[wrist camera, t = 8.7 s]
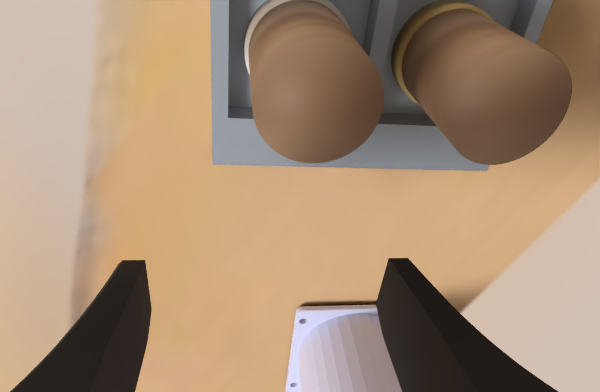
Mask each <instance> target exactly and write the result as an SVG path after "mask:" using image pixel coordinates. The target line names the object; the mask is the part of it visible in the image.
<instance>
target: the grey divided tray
mask: <svg viewBox="0 0 600 392" xmlns="http://www.w3.org/2000/svg"><path fill="white" fill-rule="evenodd" d="M265 1H266V0H210V13H211V82H212V151H213V165H252V166H295V167H337V168H380V169H422V170H464V171H487V170H488V167H489V165H486V164H479V163H475V162H472V161H470V160H468V159H466V158H464V157H463V156H462V155H461V154H459V152H458V151H457V150H456V149H455V148H454V147H453V145H452V144H451V143H450V142H449V140H448V139H447V138H446V137H445V135H444V134H443V133H442V132H441V131H440V129H439V128H438V127H437V126H436V124H435V123H434V122H433V121H432V120H431V118H430V117H429V116H428V115H427V113H426V112H425V111H424V110H423V109H422V107H421V106H420V105H418V104H417V103H415V102H413V101H412V100H411V99H410V98H409V97H408V96H407V95H406V94H405V92H404V91H403V90H402V89H401V87H400V86H399V85H398V83H397V82H396V80H395V77H394V75H393V71H392V66H391V55H392V49H393V45H394V42H395V39H396V37H397V35H398V33H399V31H400V29H401V28H402V27H403V25H404V24H405V22H406V21H407V20H408V19H409V18H410V17H411V16H412V15H413V14H414V13H415V12H417V11H418V10H420V9H421V8H423V7H424V6H426V5H428V4H430V3H433V2H436V1H439V0H329V1H330V2H332V3H333V4H334V5H335V6H336V8H337V9H338V10H339V11H340V13H341V14H342V15H343V16H344V18H345V19H346V21H347V23H348V25H349V27H350V29H351V33H352V35H353V36H354V38H355V39H356V40H357V42H358V43H359V44H360V46H361V47H362V48H363V50H364V51H365V52H366V54H367V55H368V56H369V58H370V59H371V60H372V62H373V63H374V65H375V66H376V68H377V69H378V71H379V74H380V76H381V79H382V83H383V88H384V105H383V111H382V114H381V117H380V120H379V122H378V124H377V126H376V128H375V130H374V131H373V133H372V134H371V135H370V137H369V138H368V139H367V140H366V141H365V142H364V143H363V144H362V145H361V146H360V147H358V148H357V149H356V150H354V151H353V152H351V153H350V154H348V155H346V156H344V157H342V158H339V159H337V160H334V161H330V162H325V163H313V164H311V163H302V162H297V161H294V160H291V159H288V158H286V157H284V156H282V155H280V154H279V153H277V152H275V151H274V150H273V149H272V148H271V147H270V146H269V145H268V144H267V143H266V142H265V141H264V140H263V138H262V137H261V135H260V134H259V132H258V129H257V127H256V124H255V121H254V117H253V111H252V98H251V84H250V75H249V73H248V70H247V67H246V62H245V53H244V39H245V33H246V28H247V26H248V23H249V21H250V19H251V17H252V15H253V14H254V12H255V11H256V10H257V9H258V8H259V6H260V5H261V4H262V3H264V2H265ZM462 1H465V2H468V3H470V4H472V5H474V6H476V7H477V8H479V9H481V10H483V11H485V12H486V13H487V14H488V15H489V16H490V17H491V18H492V19H493V20H494V22H496V23H498V24H500V25H501V26H503V27H505V28H507V29H509V30H511V31H512V32H514V33H516V34H518V35H520V36H522V37H523V38H525V39H527V40H529V41H531V42H533V43H534V44H537V41H538V39H539V36H540V33H541V31H542V28H543V26H544V23H545V20H546V18H547V15H548V13H549V10H550V8H551V5H552V2H553V0H462Z"/></svg>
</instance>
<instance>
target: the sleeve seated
mask: <svg viewBox="0 0 600 392" xmlns="http://www.w3.org/2000/svg"><path fill="white" fill-rule="evenodd" d="M244 53H245V62H246V67H247V70H248V73H249V75H250V84H251V98H252V111H253V117H254V121H255V124H256V127H257V129H258V132H259V134H260V135H261V137H262V138H263V140H264V141H265V142H266V143H267V144H268V145H269V146H270V147H271V148H272V149H273V150H274V151H275V152H277V153H279V154H280V155H282V156H284V157H286V158H288V159H291V160H294V161H297V162H302V163H311V164H313V163H325V162H330V161H334V160H337V159H339V158H342V157H344V156H346V155H348V154H350V153H351V152H353V151H354V150H356V149H357V148H358V147H360V146H361V145H362V144H363V143H364V142H365V141H366V140H367V139H368V138H369V137H370V135H371V134H372V133H373V131H374V130H375V128H376V126H377V124H378V122H379V120H380V117H381V114H382V111H383V105H384V88H383V83H382V79H381V76H380V74H379V71H378V69H377V68H376V66H375V65H374V63H373V62H372V60H371V59H370V58H369V56H368V55H367V54H366V52H365V51H364V50H363V48H362V47H361V46H360V44H359V43H358V42H357V40H356V39H355V38H354V36H353V35H352V33H351V29H350V27H349V25H348V23H347V21H346V19H345V18H344V16H343V15H342V14H341V13H340V11H339V10H338V9H337V8H336V6H335V5H334V4H333V3H332V2H330V1H329V0H266V1H265V2H264V3H262V4H261V5H260V6H259V8H258V9H257V10H256V11H255V12H254V14H253V15H252V17H251V19H250V21H249V23H248V26H247V28H246V33H245V39H244Z"/></svg>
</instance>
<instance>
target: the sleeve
mask: <svg viewBox="0 0 600 392" xmlns="http://www.w3.org/2000/svg"><path fill="white" fill-rule="evenodd" d="M391 66H392V71H393V75H394V77H395V80H396V82H397V83H398V85H399V86H400V87H401V89H402V90H403V91H404V92H405V94H406V95H407V96H408V97H409V98H410V99H411V100H412V101H413V102H415V103H417V104H418V105H420V106H421V107H422V109H423V110H424V111H425V112H426V113H427V115H428V116H429V117H430V118H431V120H432V121H433V122H434V123H435V124H436V126H437V127H438V128H439V129H440V131H441V132H442V133H443V134H444V135H445V137H446V138H447V139H448V140H449V142H450V143H451V144H452V145H453V147H454V148H455V149H456V150H457V151H458V152H459V154H461V155H462V156H463V157H464V158H466V159H468V160H470V161H472V162H475V163H479V164H486V165H496V164H503V163H507V162H511V161H513V160H516V159H519V158H521V157H523V156H525V155H527V154H528V153H530V152H532V151H533V150H535V149H536V148H538V147H539V146H540V145H541V144H543V143H544V142H545V141H546V140H547V139H548V138H549V137H550V136H551V135H552V134H553V132H554V131H555V130H556V129H557V127H558V126H559V124H560V123H561V121H562V120H563V118H564V116H565V114H566V112H567V109H568V107H569V103H570V99H571V93H572V82H571V76H570V74H569V71H568V69H567V67H566V65H565V64H564V63H563V61H562V60H561V59H560V58H558V57H557V56H556V55H554V54H553V53H551V52H549V51H547V50H545V49H543V48H542V47H540V46H538V45H536V44H534V43H533V42H531V41H529V40H527V39H525V38H523V37H522V36H520V35H518V34H516V33H514V32H512V31H511V30H509V29H507V28H505V27H503V26H501V25H500V24H498V23H496V22H494V20H493V19H492V18H491V17H490V16H489V15H488V14H487V13H486V12H485V11H483V10H481V9H479V8H477V7H476V6H474V5H472V4H470V3H468V2H465V1H462V0H439V1H436V2H433V3H430V4H428V5H426V6H424V7H423V8H421V9H420V10H418V11H417V12H415V13H414V14H413V15H412V16H411V17H410V18H409V19H408V20H407V21H406V22H405V24H404V25H403V27H402V28H401V29H400V31H399V33H398V35H397V37H396V39H395V42H394V45H393V49H392V55H391Z"/></svg>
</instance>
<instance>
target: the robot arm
mask: <svg viewBox="0 0 600 392" xmlns="http://www.w3.org/2000/svg"><path fill="white" fill-rule="evenodd" d="M151 310H152V309H151V302H150V294H149V287H148V279H147V271H146V264H145V260H123V261H121V262H120V263H119V264H118V266H117V267H116V269H115V270H114V272H113V273H112V275H111V276H110V278H109V279H108V281H107V282H106V284H105V285H104V287H103V288H102V289H101V291H100V292H99V293H98V295H97V296H96V298H95V299H94V300H93V302H92V303H91V304H90V305H89V307H88V308H87V309H86V311H85V312H84V313H83V314H82V316H81V317H80V318H79V319H78V321H77V322H76V323H75V324H74V326H73V327H72V328H71V329H70V330H69V331H68V332H67V334H66V335H65V336H64V337H63V338H62V339H61V341H60V342H59V343H58V344H57V345H56V346H55V348H54V349H53V350H52V351H51V352H50V353H49V354H48V355H47V356H46V357H45V358H44V359H43V360H42V361H41V362H40V363H39V364H38V366H37V367H35V368H34V370H32V371H31V372H30V373H29V374H28V375H27V377H25V379H23V380H22V381H21V382H20V383H19V384H18V385H17V386H16V387H15V388H14V389H13V390H12V391H10V392H135V389H136V385H137V381H138V377H139V373H140V369H141V366H142V362H143V358H144V354H145V350H146V345H147V340H148V333H149V326H150V318H151ZM303 318H304V319H303ZM285 391H286V392H558V391H556V390H555V389H553V388H552V387H550V386H549V385H547V384H546V383H544V382H543V381H542V380H540V379H539V378H537V377H536V376H535V375H533V374H532V373H530V372H529V371H527V370H526V369H525V368H523V367H522V366H521V365H519V364H518V363H517V362H515V361H514V360H513V359H511V358H510V357H509V356H508V355H506V354H505V353H504V352H503V351H502V350H500V349H499V348H498V347H496V346H495V345H494V344H493V343H492V342H491V341H489V340H488V339H487V338H486V337H485V336H484V335H482V334H481V333H480V332H479V331H478V330H477V329H476V328H475V327H474V326H473V325H471V324H470V323H469V322H468V321H467V320H466V319H465V318H464V317H463V316H462V315H461V314H460V313H459V312H458V311H457V310H456V309H455V308H454V307H453V306H452V305H451V304H450V303H449V302H448V301H447V300H446V299H445V298H444V297H443V296H442V295H441V294H440V293H439V291H438V290H437V289H436V288H435V287H434V286H433V285H432V284H431V283H430V282H429V281H428V280H427V279H426V277H425V276H424V275H423V274H422V273H421V272H420V271H419V270H418V269H417V268H416V267H415V265H414V264H413V263H412V262H411V261H410V260H409V259H408V258H389V260H388V263H387V267H386V270H385V274H384V278H383V281H382V285H381V288H380V292H379V295H378V299H377V303H376V305H340V306H303V307H300V308H298V309H297V310H296V313H295V321H294V328H293V336H292V343H291V350H290V358H289V365H288V373H287V380H286V387H285Z"/></svg>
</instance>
